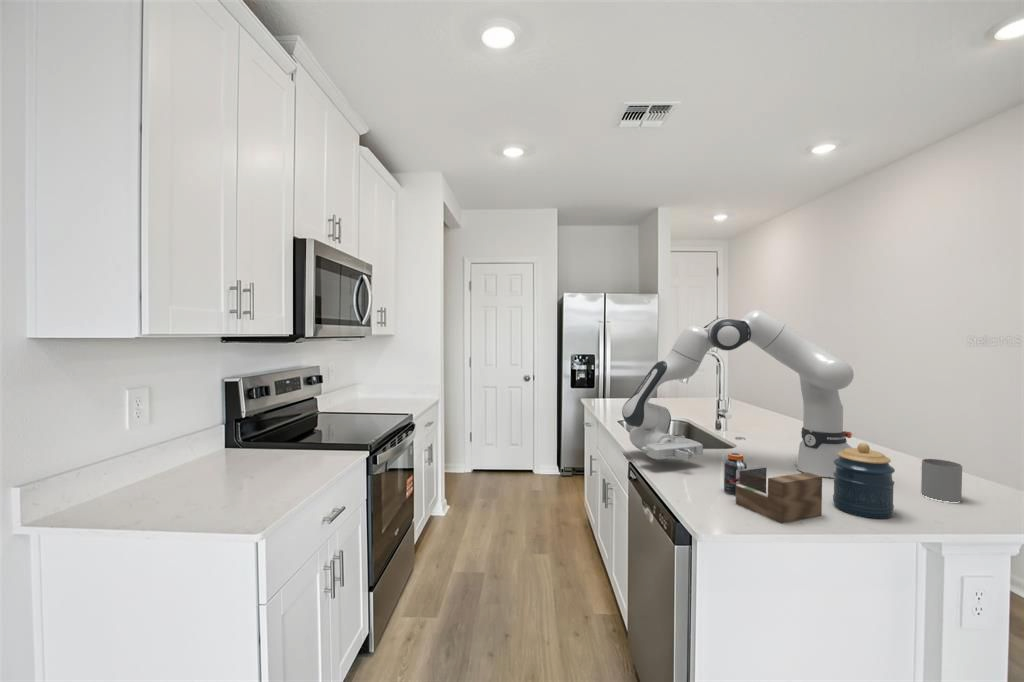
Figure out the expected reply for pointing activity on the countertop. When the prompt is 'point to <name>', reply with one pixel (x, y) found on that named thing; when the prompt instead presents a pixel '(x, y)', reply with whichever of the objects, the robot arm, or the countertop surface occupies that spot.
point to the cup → (941, 480)
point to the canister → (863, 482)
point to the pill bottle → (732, 471)
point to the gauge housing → (785, 497)
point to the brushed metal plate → (752, 478)
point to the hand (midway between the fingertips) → (690, 455)
